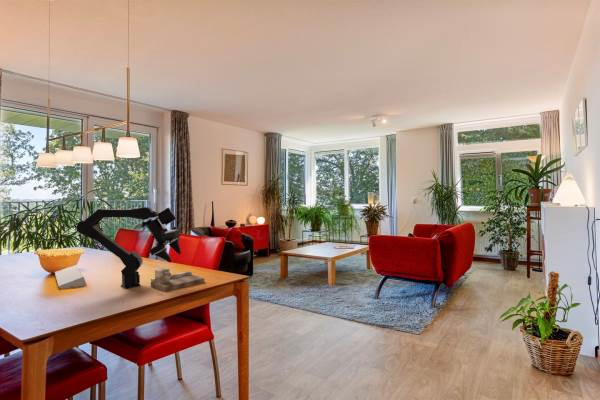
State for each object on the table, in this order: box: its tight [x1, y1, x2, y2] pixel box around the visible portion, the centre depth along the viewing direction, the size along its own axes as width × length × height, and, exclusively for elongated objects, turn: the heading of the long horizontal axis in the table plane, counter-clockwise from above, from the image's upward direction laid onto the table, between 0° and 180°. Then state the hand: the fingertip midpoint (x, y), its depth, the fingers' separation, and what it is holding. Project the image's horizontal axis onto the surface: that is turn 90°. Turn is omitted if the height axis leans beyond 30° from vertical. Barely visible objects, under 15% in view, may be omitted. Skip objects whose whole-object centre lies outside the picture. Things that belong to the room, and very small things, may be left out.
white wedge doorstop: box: [54, 264, 87, 290], centre depth 167 cm, size 34×5×10 cm
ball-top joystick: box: [154, 267, 172, 284], centre depth 153 cm, size 5×9×6 cm, turn 49°
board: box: [150, 270, 205, 293], centre depth 158 cm, size 20×13×4 cm, turn 139°
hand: (175, 257), depth 160 cm, fingers open, 9 cm apart
